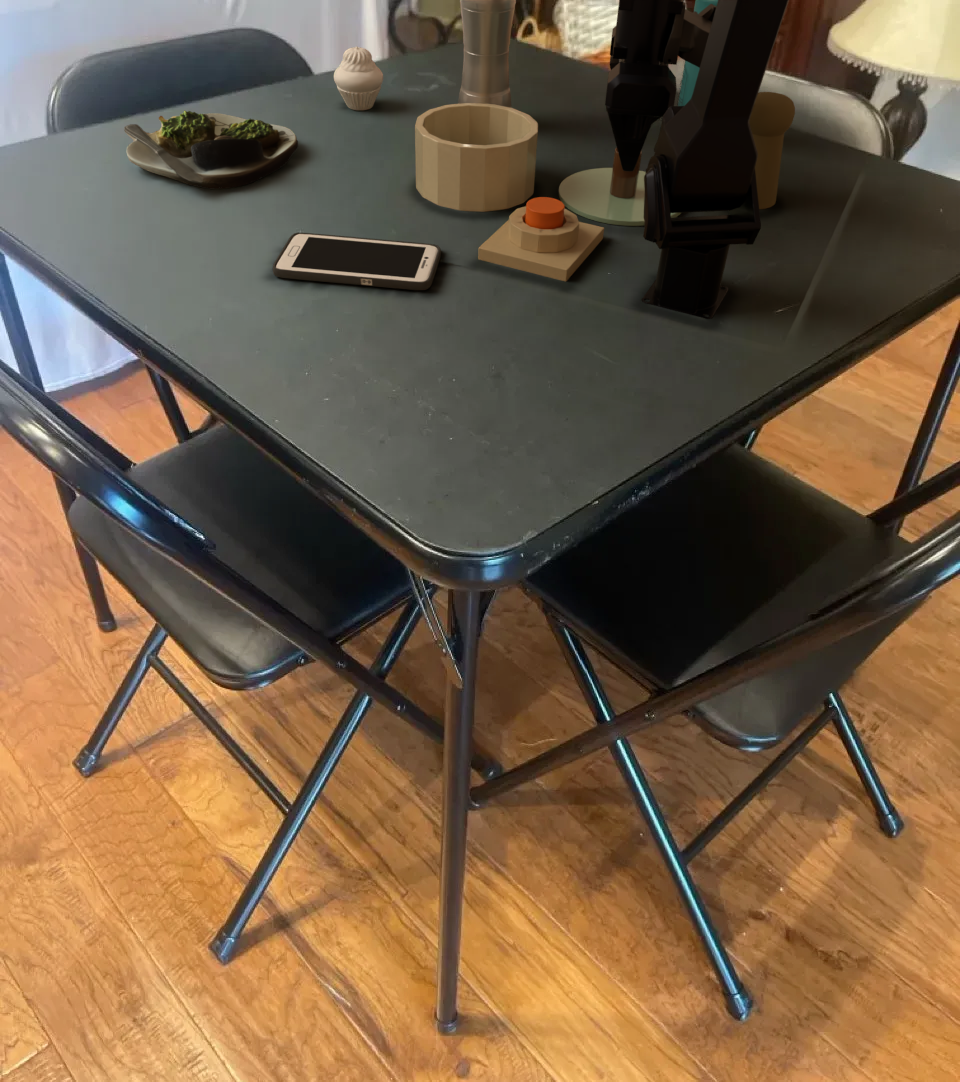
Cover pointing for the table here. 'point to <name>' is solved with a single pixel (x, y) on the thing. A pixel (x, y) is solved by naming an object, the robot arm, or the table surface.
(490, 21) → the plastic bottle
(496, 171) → the pot
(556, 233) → the control block
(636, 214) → the lid
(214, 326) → the table surface
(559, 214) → the button
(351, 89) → the muffin
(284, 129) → the salad plate
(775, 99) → the cork
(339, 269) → the cell phone
